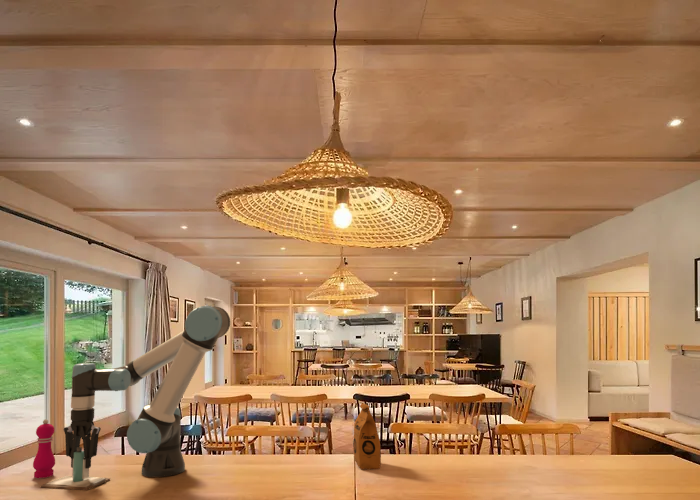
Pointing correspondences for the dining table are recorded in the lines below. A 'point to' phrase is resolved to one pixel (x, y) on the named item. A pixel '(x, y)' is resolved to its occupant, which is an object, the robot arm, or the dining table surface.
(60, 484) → the clipboard
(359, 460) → the coffee package
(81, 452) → the bottle
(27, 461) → the dining table surface
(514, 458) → the dining table surface
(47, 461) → the pepper mill
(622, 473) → the dining table surface
